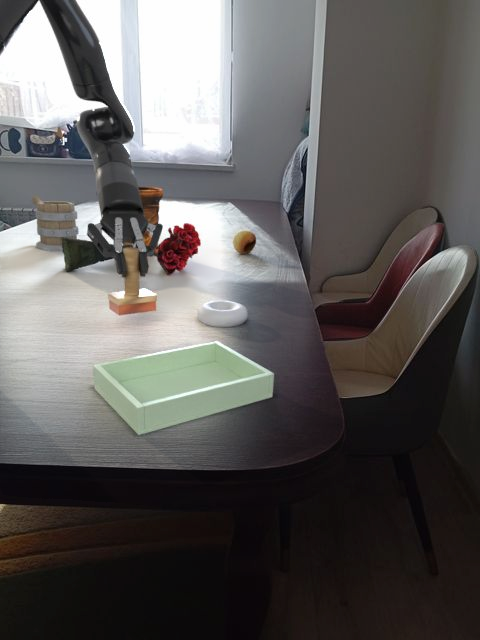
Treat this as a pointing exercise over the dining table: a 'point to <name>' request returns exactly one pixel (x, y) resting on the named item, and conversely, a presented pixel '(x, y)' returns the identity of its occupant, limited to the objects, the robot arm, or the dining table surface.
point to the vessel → (150, 209)
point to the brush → (132, 289)
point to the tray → (180, 385)
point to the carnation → (169, 253)
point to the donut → (222, 313)
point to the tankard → (54, 223)
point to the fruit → (244, 241)
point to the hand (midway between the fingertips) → (134, 274)
